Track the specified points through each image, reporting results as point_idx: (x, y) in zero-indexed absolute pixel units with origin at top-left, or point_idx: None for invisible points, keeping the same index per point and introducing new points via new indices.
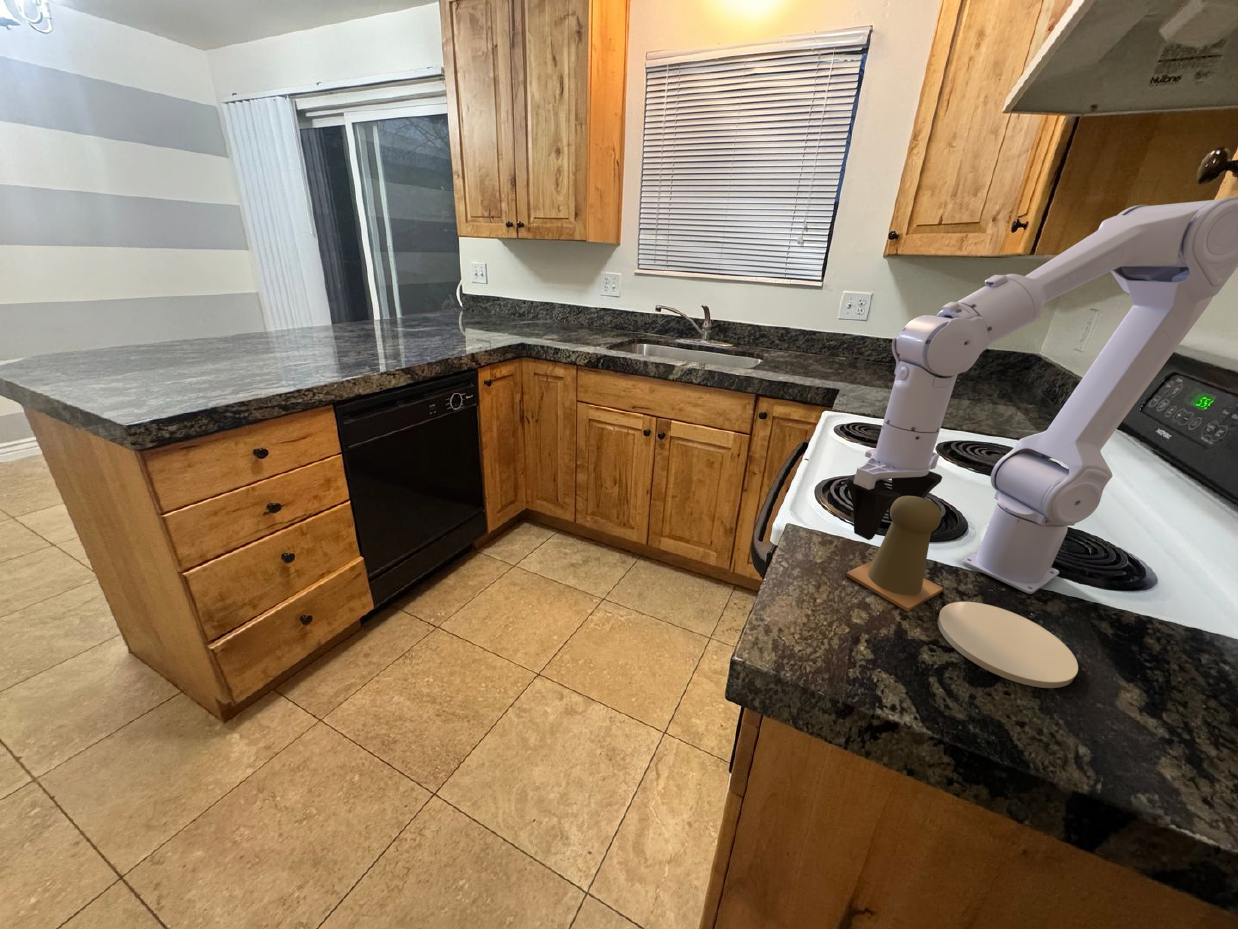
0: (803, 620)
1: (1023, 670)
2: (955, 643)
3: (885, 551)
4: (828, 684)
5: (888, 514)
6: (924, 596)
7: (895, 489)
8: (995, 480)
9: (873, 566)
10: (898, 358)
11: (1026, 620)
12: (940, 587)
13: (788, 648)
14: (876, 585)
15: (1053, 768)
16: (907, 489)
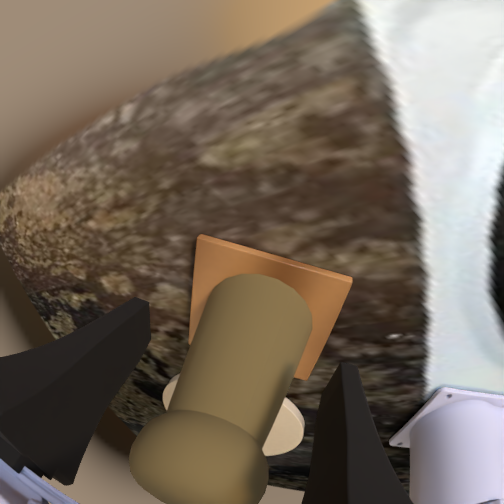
0: (48, 226)
1: None
2: (167, 384)
3: (191, 348)
4: (23, 280)
5: (340, 372)
6: None
7: (338, 467)
8: None
9: (216, 299)
10: None
11: (294, 442)
12: (303, 378)
13: (15, 234)
14: (204, 297)
15: (113, 406)
16: (316, 500)
